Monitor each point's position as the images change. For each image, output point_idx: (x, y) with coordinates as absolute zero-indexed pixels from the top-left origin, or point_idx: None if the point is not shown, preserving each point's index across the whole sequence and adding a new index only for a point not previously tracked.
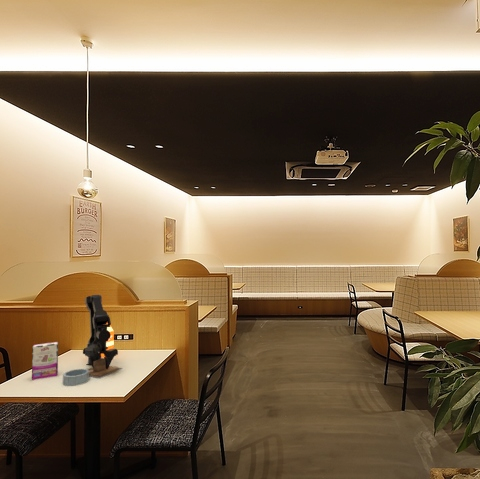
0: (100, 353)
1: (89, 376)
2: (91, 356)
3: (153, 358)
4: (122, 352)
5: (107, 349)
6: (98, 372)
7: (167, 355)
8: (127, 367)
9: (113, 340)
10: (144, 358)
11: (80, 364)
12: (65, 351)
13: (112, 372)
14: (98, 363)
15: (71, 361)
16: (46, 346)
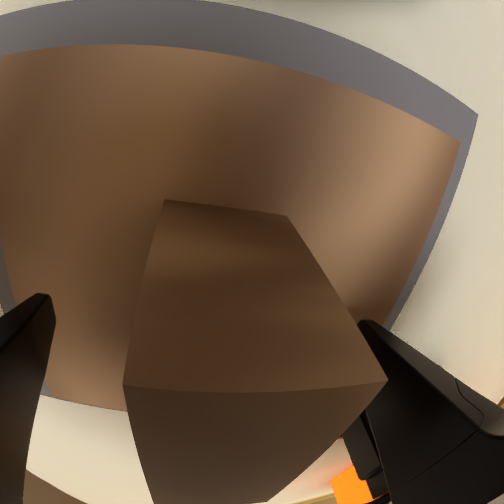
0: (374, 495)
1: (229, 16)
2: (481, 463)
3: (77, 484)
4: (298, 495)
5: (361, 497)
6: (127, 177)
7: (64, 491)
8: (51, 414)
9: None
10: (118, 488)
11: (470, 362)
12: (500, 402)
13: (5, 284)
14: (134, 348)
15: (500, 365)
16: None
